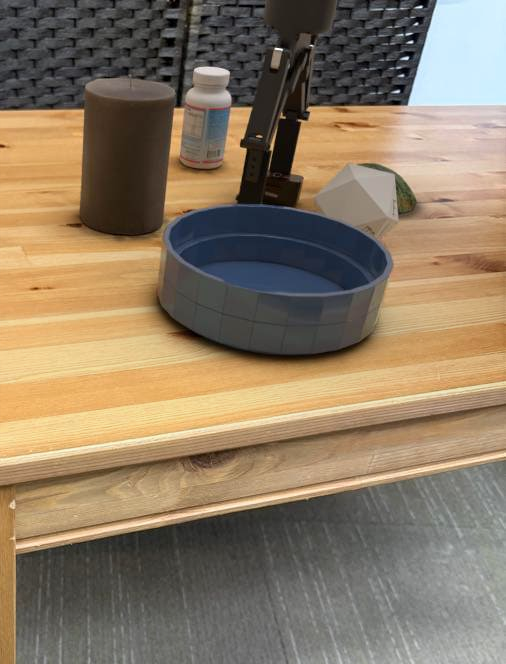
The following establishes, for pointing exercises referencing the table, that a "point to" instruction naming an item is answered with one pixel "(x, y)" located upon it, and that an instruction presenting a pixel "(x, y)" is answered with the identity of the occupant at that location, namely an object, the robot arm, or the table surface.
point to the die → (361, 199)
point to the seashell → (397, 188)
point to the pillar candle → (125, 154)
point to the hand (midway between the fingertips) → (264, 191)
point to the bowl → (272, 278)
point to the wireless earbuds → (282, 189)
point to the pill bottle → (206, 119)
